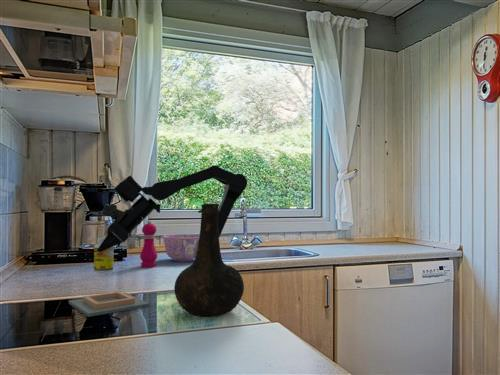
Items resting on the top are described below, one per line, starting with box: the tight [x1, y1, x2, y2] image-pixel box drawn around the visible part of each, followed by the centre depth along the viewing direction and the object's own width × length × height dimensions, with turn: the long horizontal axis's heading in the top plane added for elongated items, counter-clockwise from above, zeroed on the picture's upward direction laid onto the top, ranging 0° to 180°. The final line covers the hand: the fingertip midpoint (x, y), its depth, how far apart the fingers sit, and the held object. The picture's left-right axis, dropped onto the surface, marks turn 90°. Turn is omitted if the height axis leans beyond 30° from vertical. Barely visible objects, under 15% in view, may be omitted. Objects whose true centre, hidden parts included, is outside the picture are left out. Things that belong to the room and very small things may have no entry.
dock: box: [68, 291, 150, 318], centre depth 108 cm, size 16×16×2 cm
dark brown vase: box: [173, 203, 245, 318], centre depth 102 cm, size 18×18×28 cm
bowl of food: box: [162, 233, 200, 263], centre depth 190 cm, size 20×20×12 cm
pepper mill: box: [139, 219, 158, 269], centre depth 171 cm, size 7×7×20 cm
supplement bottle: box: [93, 236, 115, 274], centre depth 121 cm, size 6×6×10 cm
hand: (99, 249), depth 121 cm, fingers closed on supplement bottle, 5 cm apart
